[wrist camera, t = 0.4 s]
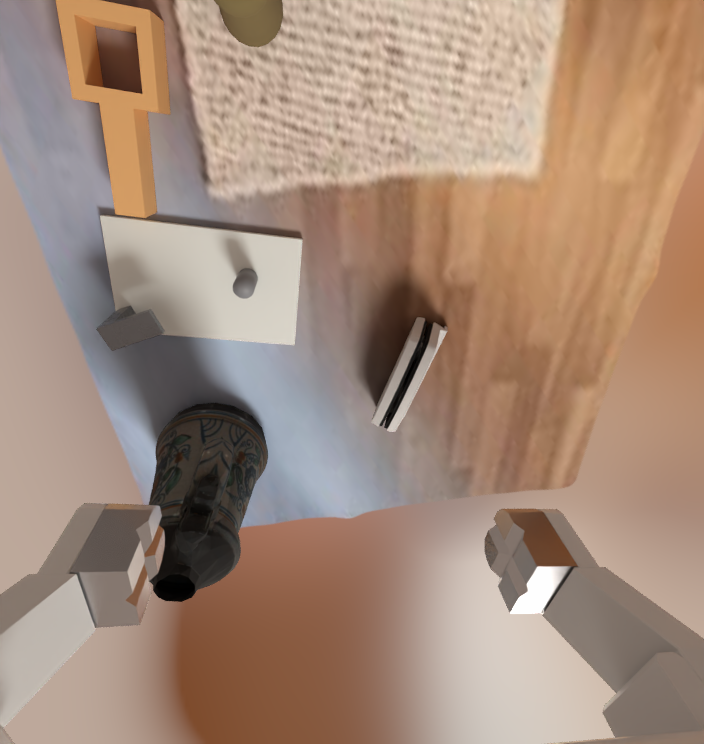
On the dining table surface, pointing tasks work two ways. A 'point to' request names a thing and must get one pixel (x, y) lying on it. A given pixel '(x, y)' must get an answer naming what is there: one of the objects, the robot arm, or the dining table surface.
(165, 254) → the board
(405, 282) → the dining table surface
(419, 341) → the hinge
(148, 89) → the link
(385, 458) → the dining table surface
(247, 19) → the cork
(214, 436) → the beer stein
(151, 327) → the bracket
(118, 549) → the robot arm
